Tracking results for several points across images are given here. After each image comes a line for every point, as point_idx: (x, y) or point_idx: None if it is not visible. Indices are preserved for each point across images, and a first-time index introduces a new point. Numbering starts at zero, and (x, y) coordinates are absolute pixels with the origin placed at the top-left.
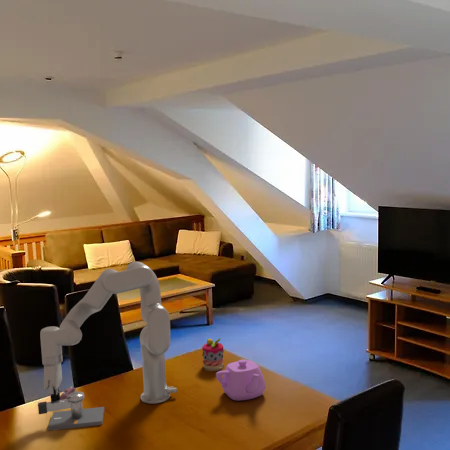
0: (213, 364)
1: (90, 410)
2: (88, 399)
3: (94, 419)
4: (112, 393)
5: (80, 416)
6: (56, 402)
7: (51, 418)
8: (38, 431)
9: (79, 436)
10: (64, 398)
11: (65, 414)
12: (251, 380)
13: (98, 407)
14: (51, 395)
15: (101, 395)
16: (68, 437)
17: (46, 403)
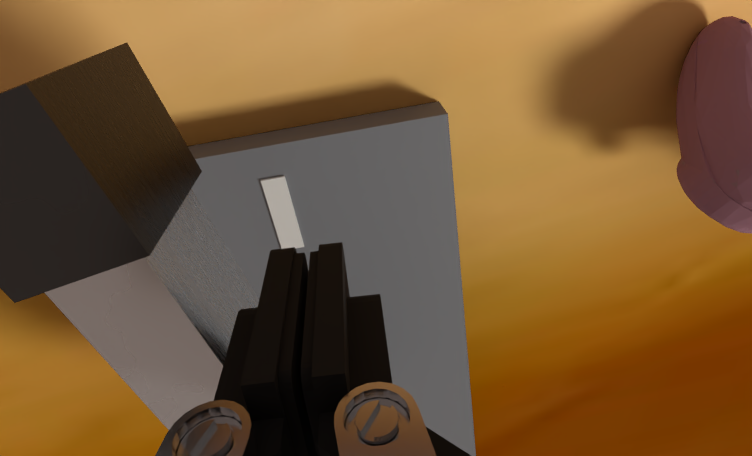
0: None
1: (431, 420)
2: (704, 313)
3: None
4: (732, 432)
5: None
6: (168, 410)
7: (282, 145)
8: (56, 50)
9: (76, 420)
10: (696, 192)
11: (373, 261)
12: None
13: (473, 452)
14: (247, 387)
15: (735, 379)
16: (36, 362)
17: (92, 268)
